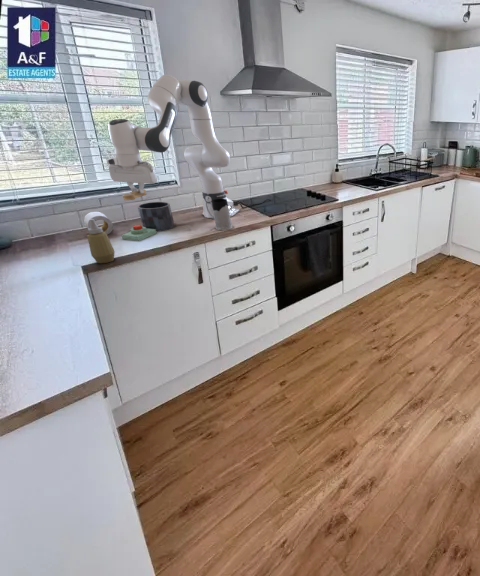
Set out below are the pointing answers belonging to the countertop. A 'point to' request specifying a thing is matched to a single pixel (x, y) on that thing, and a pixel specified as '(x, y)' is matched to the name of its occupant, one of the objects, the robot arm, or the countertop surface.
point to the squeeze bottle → (99, 244)
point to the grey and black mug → (221, 214)
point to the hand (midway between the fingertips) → (138, 192)
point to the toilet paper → (96, 216)
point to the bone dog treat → (133, 195)
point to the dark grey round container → (156, 215)
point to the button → (137, 227)
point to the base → (138, 234)
